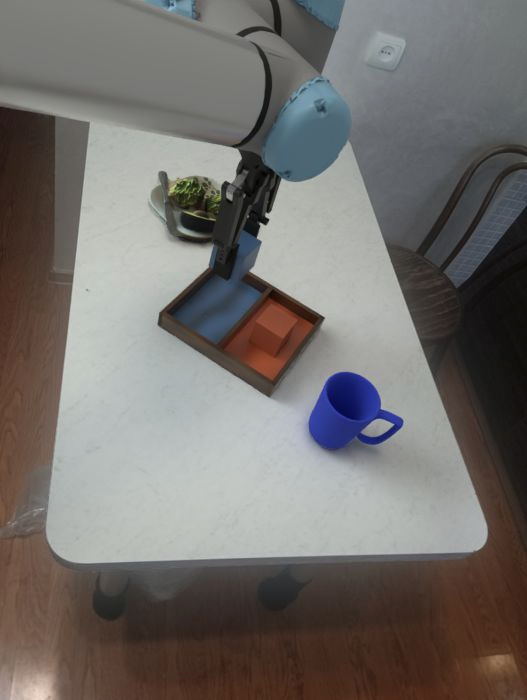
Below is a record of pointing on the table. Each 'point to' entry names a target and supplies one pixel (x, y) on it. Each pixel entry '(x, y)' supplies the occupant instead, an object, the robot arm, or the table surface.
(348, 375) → the mug
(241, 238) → the blue block
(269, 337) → the terracotta block
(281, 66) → the robot arm
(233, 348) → the tray
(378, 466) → the table surface
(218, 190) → the salad plate
